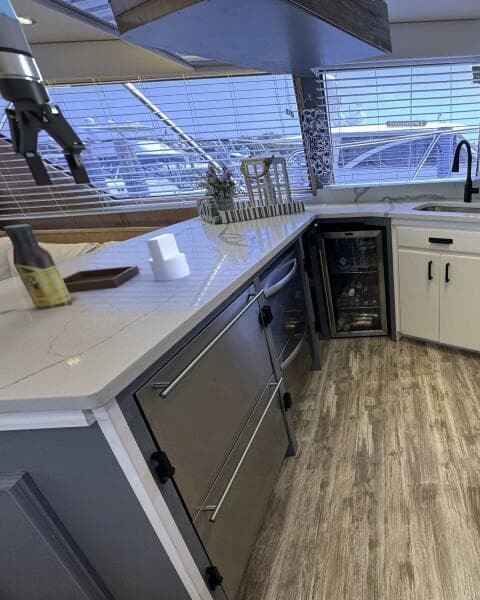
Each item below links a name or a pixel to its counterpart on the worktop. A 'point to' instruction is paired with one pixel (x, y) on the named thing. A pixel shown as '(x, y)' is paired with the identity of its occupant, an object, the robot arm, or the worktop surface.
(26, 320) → the worktop surface
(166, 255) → the cylinder with rectangular tab
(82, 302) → the worktop surface
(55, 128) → the robot arm
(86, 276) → the tray
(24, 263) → the sauce bottle
